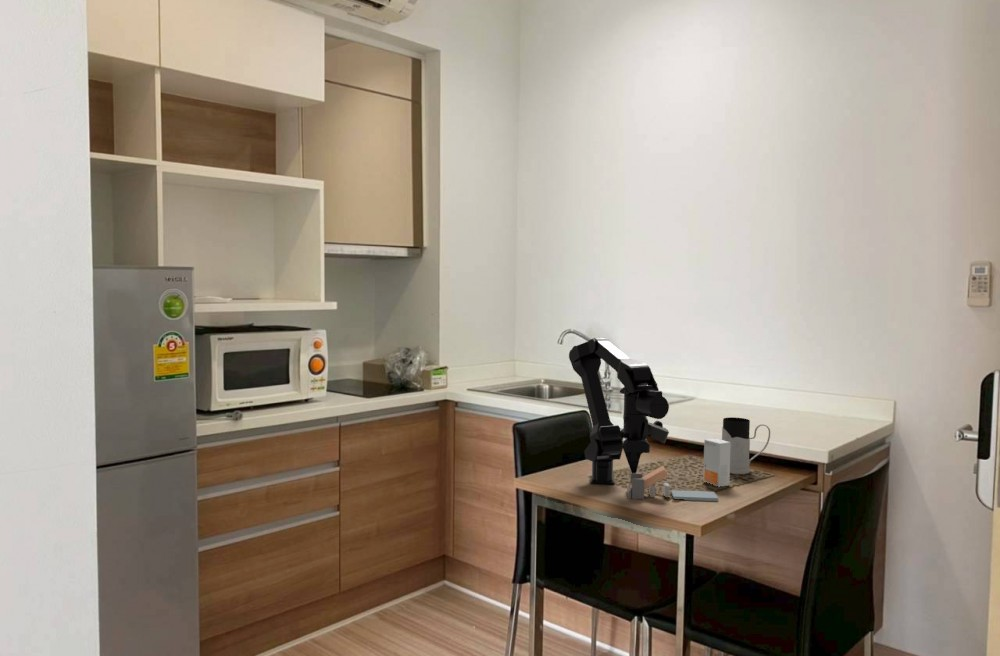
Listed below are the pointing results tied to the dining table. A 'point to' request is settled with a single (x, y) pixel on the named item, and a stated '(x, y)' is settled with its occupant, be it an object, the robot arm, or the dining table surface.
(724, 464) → the skincare box
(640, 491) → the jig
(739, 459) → the grey mug
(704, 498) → the mat
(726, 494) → the dining table surface
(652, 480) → the bar
